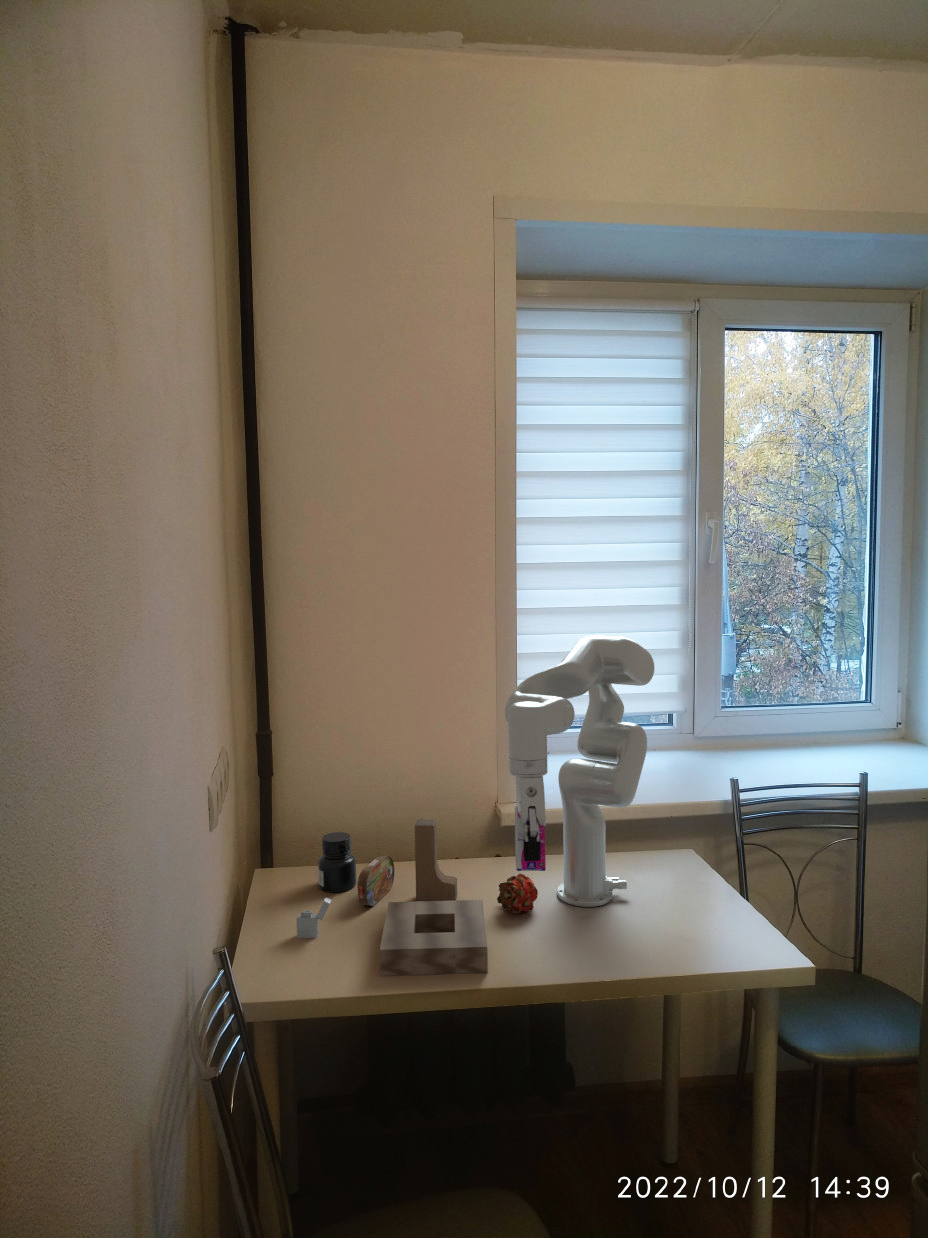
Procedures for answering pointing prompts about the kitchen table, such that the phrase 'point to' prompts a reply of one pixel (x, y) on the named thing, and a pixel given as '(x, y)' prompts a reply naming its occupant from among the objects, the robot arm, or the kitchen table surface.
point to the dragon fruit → (517, 894)
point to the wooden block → (430, 866)
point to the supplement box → (519, 847)
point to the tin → (375, 880)
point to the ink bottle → (337, 863)
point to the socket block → (434, 938)
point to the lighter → (310, 921)
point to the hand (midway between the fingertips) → (530, 853)
